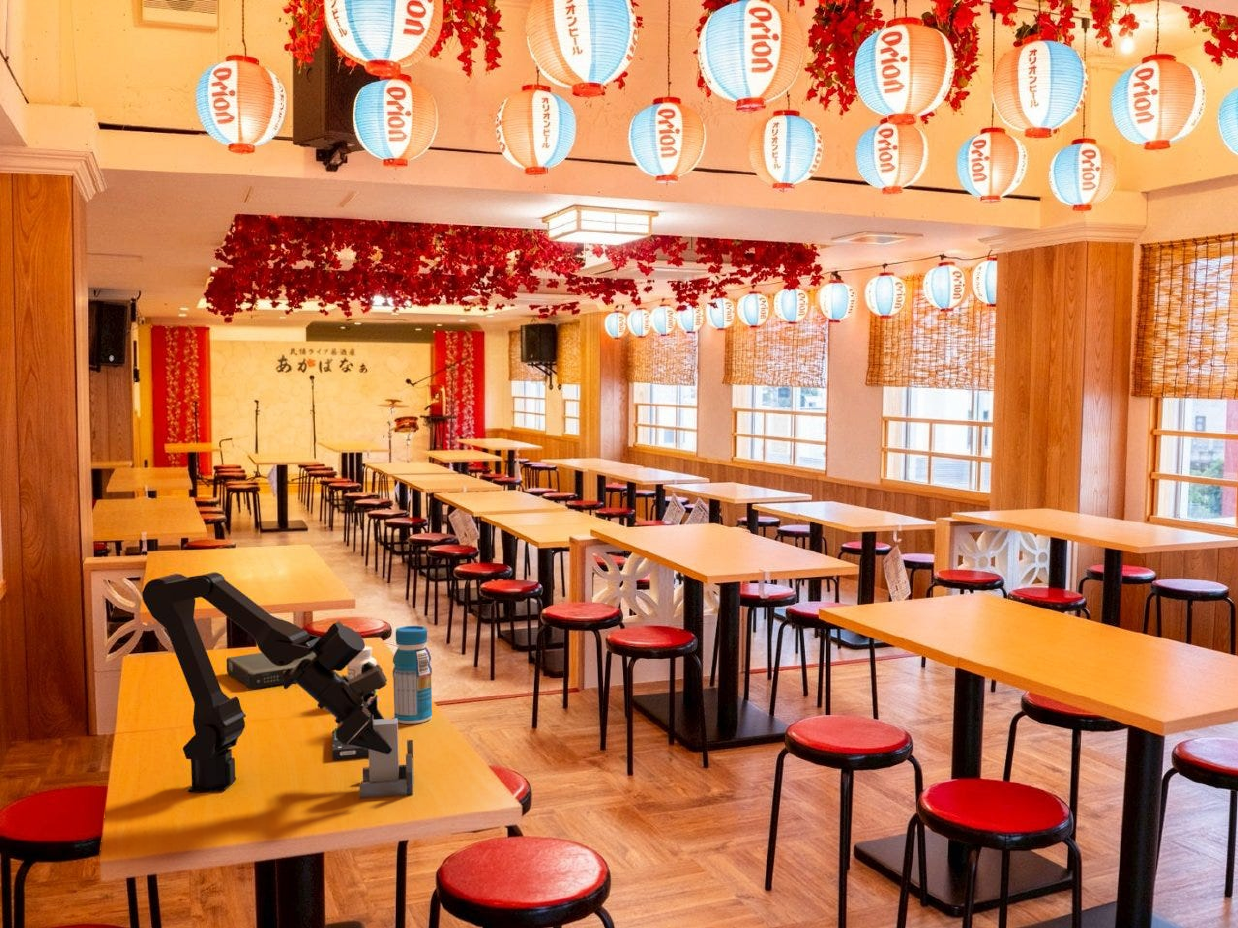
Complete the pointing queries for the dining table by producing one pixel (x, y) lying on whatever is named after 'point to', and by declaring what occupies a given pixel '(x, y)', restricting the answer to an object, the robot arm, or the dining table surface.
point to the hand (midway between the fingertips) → (391, 743)
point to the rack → (392, 786)
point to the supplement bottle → (357, 663)
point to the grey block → (385, 764)
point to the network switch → (259, 670)
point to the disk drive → (346, 750)
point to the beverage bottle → (412, 676)
